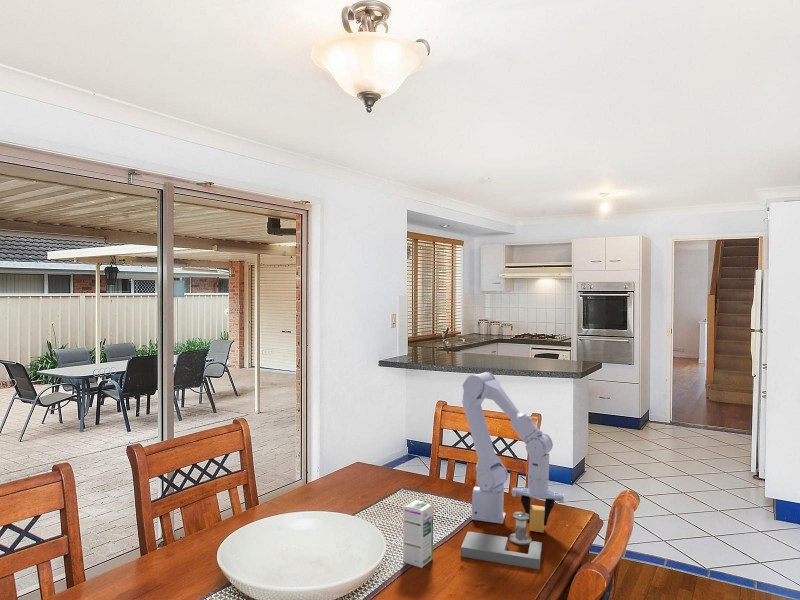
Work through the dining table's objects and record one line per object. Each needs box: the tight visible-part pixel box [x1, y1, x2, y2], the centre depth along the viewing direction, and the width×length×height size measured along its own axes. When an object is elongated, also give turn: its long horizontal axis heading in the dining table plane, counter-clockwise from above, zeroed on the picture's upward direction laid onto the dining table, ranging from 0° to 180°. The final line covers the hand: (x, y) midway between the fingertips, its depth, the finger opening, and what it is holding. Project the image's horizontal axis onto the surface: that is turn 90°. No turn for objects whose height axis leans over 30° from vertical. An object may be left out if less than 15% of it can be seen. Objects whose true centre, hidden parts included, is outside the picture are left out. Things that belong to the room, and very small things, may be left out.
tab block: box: [528, 504, 545, 534], centre depth 164 cm, size 4×4×6 cm
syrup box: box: [402, 499, 434, 569], centre depth 145 cm, size 6×6×14 cm
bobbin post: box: [509, 511, 533, 546], centre depth 158 cm, size 6×6×7 cm
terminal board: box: [460, 531, 543, 570], centre depth 150 cm, size 20×10×2 cm, turn 73°
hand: (537, 523), depth 164 cm, fingers closed on tab block, 4 cm apart
